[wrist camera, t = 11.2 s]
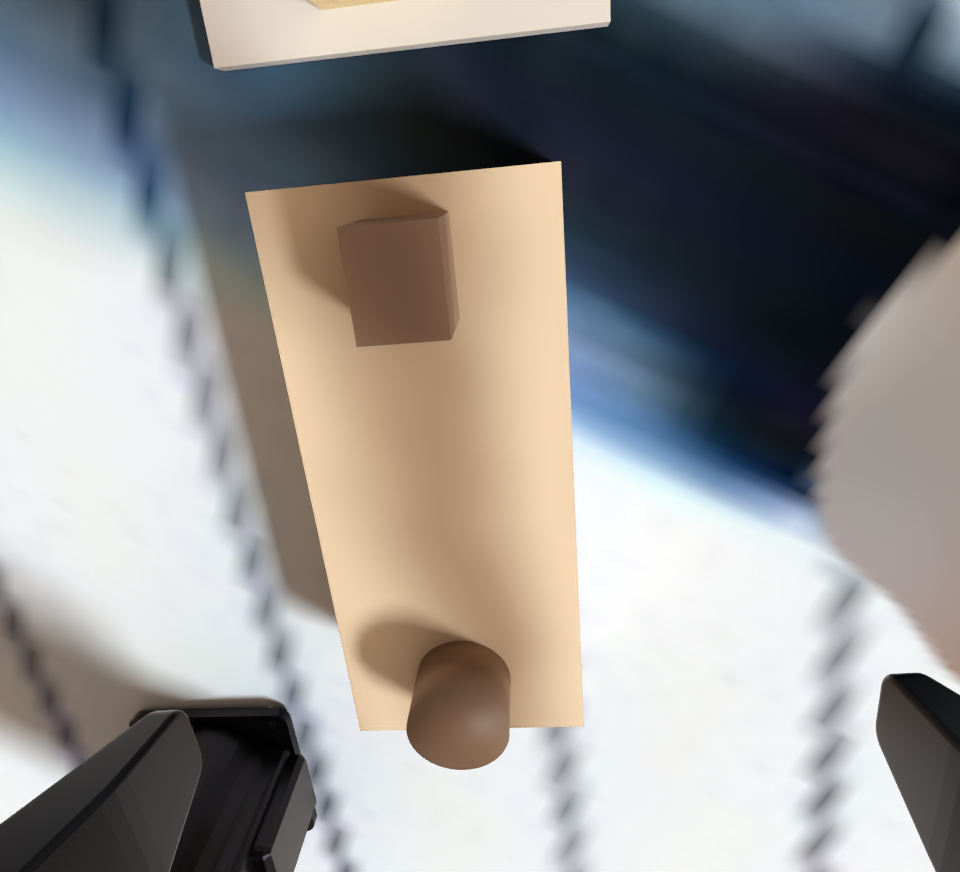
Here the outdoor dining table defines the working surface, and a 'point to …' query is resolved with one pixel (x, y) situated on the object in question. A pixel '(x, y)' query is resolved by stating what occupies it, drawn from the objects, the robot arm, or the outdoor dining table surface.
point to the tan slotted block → (344, 3)
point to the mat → (377, 26)
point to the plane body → (436, 443)
